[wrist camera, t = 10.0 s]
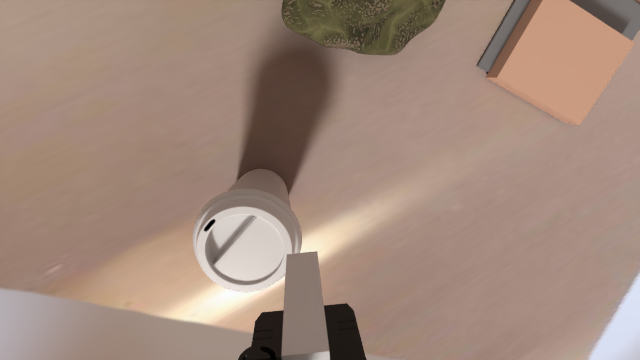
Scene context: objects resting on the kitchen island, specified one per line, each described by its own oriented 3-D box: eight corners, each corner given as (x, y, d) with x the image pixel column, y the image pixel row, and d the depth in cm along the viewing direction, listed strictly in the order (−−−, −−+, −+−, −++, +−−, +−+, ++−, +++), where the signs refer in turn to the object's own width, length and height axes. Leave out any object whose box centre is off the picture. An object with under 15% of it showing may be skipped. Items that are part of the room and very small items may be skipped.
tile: (580, 125, 41) (634, 42, 39) (496, 77, 39) (550, -13, 36) (564, 122, 43) (615, 44, 41) (485, 77, 41) (534, -7, 39)
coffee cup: (277, 142, 42) (268, 176, 28) (312, 209, 45) (321, 271, 30) (207, 177, 43) (162, 228, 28) (246, 241, 45) (224, 317, 31)
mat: (574, 122, 44) (577, 122, 43) (476, 65, 41) (478, 65, 41) (647, 12, 41) (650, 12, 40) (546, -57, 38) (549, -58, 38)
